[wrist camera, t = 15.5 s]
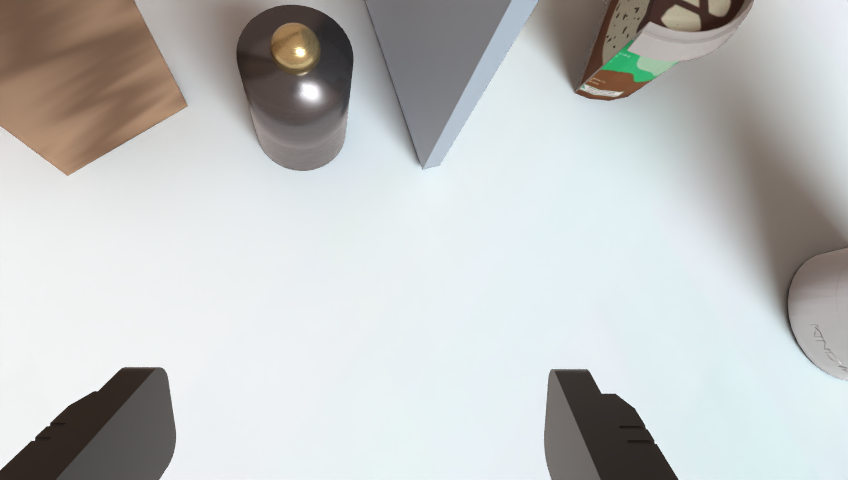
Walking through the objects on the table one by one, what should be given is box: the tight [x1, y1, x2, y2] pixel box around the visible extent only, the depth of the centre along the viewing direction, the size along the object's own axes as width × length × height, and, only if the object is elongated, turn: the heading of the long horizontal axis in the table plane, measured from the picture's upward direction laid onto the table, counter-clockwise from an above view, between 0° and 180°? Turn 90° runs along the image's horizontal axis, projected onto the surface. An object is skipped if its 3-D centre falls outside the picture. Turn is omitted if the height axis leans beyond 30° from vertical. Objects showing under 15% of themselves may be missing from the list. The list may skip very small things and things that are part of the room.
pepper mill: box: [237, 5, 353, 171], centre depth 31 cm, size 6×6×11 cm
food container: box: [575, 0, 754, 101], centre depth 37 cm, size 12×6×10 cm, turn 158°
